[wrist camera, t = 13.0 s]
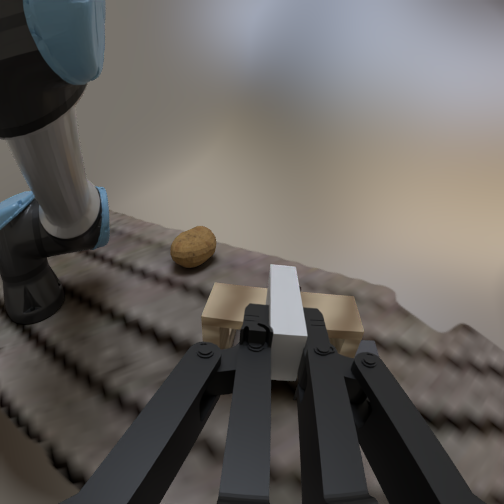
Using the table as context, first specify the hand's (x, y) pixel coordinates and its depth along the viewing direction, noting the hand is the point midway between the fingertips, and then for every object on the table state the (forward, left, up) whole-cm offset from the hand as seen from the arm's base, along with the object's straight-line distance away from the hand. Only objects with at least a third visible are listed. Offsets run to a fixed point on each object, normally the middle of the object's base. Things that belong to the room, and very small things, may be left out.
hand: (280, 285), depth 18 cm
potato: (-20, +45, -25) cm, 55 cm away
